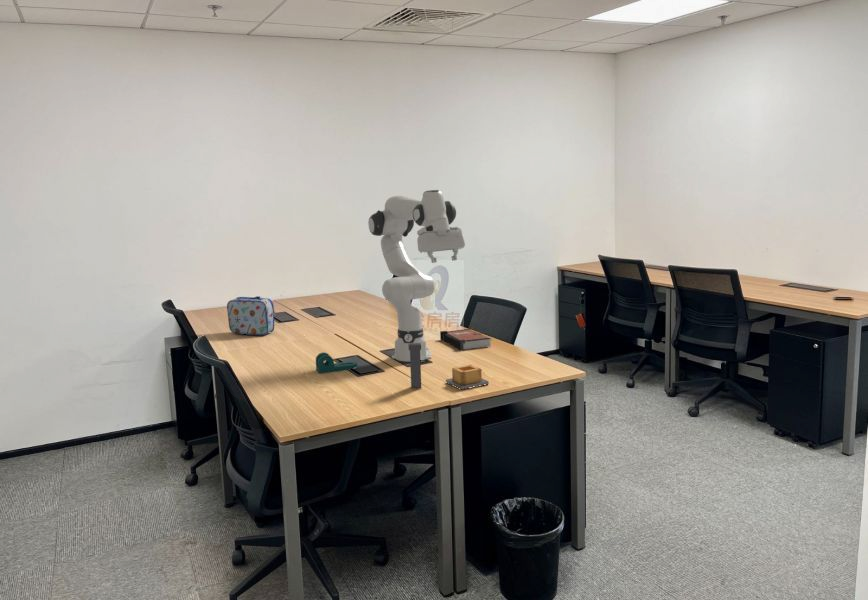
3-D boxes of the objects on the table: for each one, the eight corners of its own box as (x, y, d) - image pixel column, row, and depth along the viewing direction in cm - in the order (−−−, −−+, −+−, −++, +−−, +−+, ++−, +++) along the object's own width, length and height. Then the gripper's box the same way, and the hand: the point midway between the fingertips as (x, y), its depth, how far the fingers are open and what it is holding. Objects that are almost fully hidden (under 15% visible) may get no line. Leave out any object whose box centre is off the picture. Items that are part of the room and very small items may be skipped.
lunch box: (279, 332, 390) (277, 294, 386) (270, 337, 380) (267, 297, 376) (237, 331, 398) (234, 293, 394) (227, 335, 388) (223, 296, 384)
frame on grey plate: (461, 390, 274) (460, 374, 272) (445, 383, 284) (445, 367, 283) (488, 384, 280) (488, 369, 279) (472, 377, 290) (472, 362, 289)
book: (492, 347, 343) (492, 337, 342) (460, 351, 337) (460, 341, 336) (470, 337, 367) (470, 327, 366) (440, 340, 361) (440, 331, 360)
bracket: (319, 374, 304) (318, 356, 302) (316, 370, 310) (315, 353, 309) (359, 369, 310) (358, 352, 309) (355, 365, 316) (354, 348, 315)
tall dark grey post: (410, 389, 277) (408, 345, 274) (409, 386, 280) (408, 343, 277) (422, 388, 277) (421, 344, 274) (422, 386, 280) (420, 343, 277)
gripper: (457, 228, 290) (462, 260, 289) (413, 232, 281) (419, 265, 280) (464, 224, 285) (470, 257, 283) (419, 228, 275) (425, 262, 274)
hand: (444, 261), depth 282 cm, fingers open, 8 cm apart
